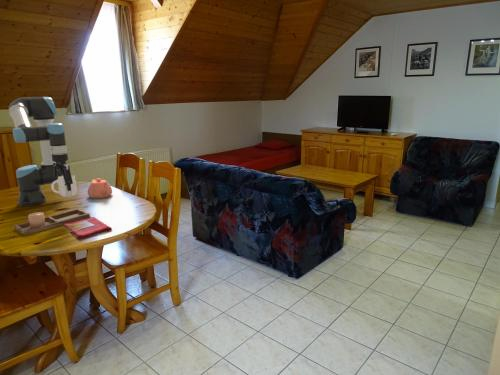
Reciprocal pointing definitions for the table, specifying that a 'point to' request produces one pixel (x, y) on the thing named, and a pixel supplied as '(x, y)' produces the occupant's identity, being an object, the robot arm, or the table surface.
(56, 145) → the robot arm
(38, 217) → the peach rounded cylinder
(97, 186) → the teapot
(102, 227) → the dish towel
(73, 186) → the mug
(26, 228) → the caddy
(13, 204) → the table surface
